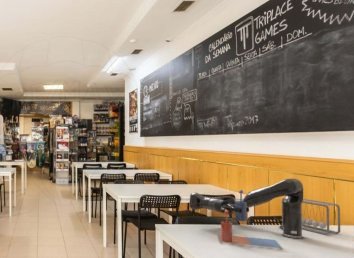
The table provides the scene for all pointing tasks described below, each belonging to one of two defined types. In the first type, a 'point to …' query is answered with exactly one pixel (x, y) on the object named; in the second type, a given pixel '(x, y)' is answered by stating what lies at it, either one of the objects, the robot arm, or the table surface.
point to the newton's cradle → (316, 223)
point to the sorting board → (254, 241)
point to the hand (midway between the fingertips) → (245, 210)
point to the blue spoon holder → (242, 206)
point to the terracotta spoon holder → (226, 230)
